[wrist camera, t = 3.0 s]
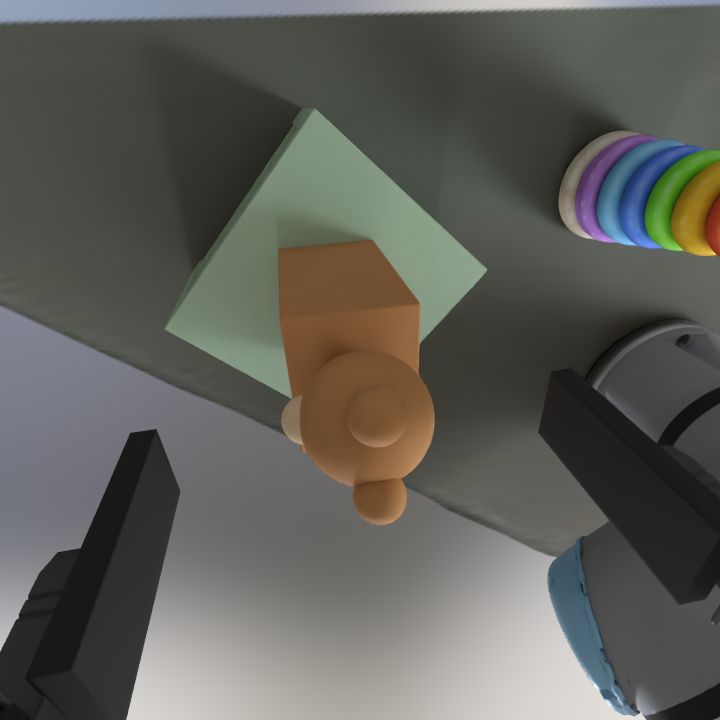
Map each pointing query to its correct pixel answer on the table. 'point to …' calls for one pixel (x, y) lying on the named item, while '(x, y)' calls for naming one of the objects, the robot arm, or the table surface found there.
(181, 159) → the table surface
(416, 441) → the plush bear
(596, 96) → the table surface
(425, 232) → the pale green square stand
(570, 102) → the table surface
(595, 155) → the stacking toy
